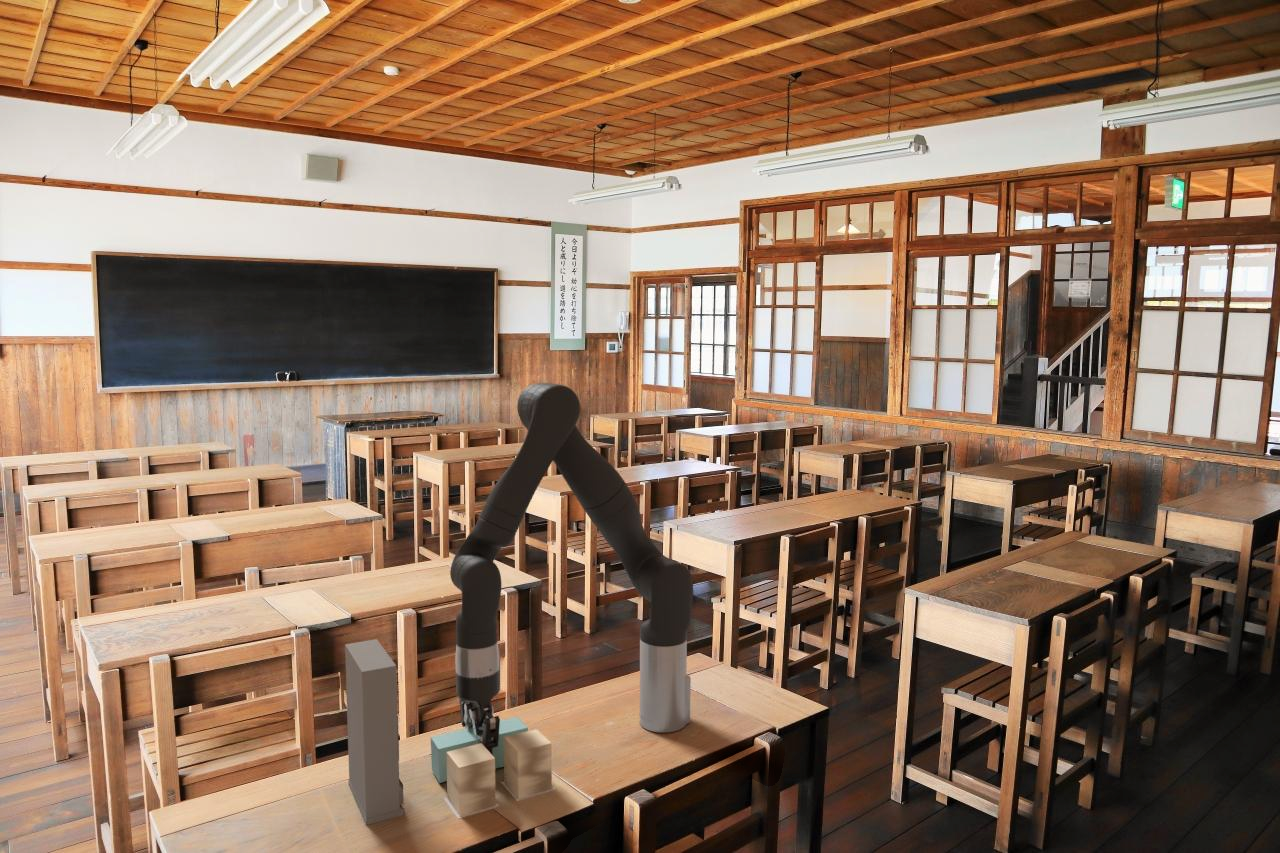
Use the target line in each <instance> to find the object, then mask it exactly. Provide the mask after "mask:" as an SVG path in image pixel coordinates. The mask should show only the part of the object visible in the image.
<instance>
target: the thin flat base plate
mask: <svg viewBox="0 0 1280 853" xmlns="http://www.w3.org/2000/svg"><path fill="white" fill-rule="evenodd" d="M500 783H501V785H502V786H503V787H504V788H505V789H506V791H508V793H509V794H510V795H511V796H512V797H513V799H514V800H515V801H516V802H520V801H522V800H525V799H530V798H532V797H536V796H539V795H542V794H546V793H549V792H552V791H556V790H557V789H556V788H555V787H554V786H553V785H552V789H549V790H546V791H543V792H539V793H536V794H533V795H529V796H526V797H523V798H519V799H518V797H517V796H516V795H515V794H514V793H513V792H512V791H511V789H510V788H509V787H508V786H507V785H506V784H505V780H503V781H500ZM443 800H444V801H445V803H446V805H447V806H448V807H449V808H450V810H451V811H452V813H453V815H454V816H455V818H457V820H459V819H462V818H467V817H469V816H472V815H476V814H479V813H482V812H486V811H490V810H493V809H496V808H499V807H500V804H498V802H497V801H496V806H492V807H489V808H486V809H482V810H479V811H476V812H472V813H469V814H466V815H462V816H459V814H458V813H457V812H456V810H455V809H454V807H453V806H452V805H451V803H450V802H449V800H448V799H447V796H446V797H443Z"/></svg>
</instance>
